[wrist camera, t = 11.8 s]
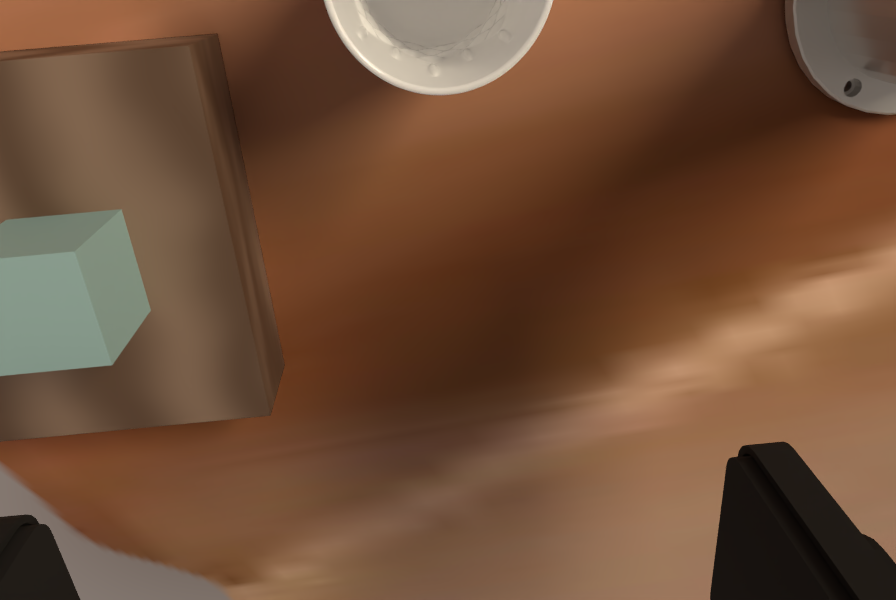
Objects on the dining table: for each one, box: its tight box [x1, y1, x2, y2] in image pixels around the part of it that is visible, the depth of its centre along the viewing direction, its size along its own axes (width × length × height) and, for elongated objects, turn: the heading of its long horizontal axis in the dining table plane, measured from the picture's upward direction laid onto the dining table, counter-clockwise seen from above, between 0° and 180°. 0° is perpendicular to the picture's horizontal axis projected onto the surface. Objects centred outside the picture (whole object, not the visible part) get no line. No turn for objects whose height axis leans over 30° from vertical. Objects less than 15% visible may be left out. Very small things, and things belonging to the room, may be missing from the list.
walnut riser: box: [0, 34, 285, 442], centre depth 34 cm, size 14×18×5 cm
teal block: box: [0, 209, 151, 376], centre depth 30 cm, size 5×5×5 cm
